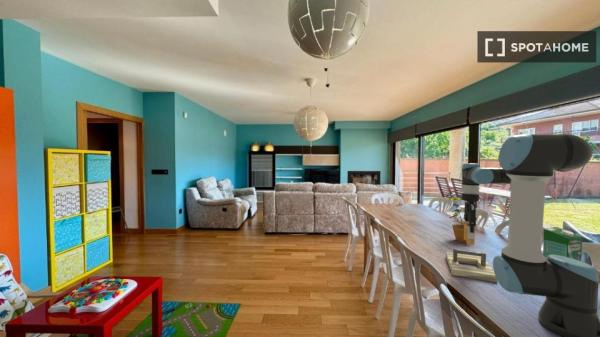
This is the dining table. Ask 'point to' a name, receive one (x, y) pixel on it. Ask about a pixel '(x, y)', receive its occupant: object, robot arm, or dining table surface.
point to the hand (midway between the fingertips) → (469, 235)
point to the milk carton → (562, 243)
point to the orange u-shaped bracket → (469, 241)
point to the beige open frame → (480, 273)
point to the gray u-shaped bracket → (483, 255)
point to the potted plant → (457, 228)
